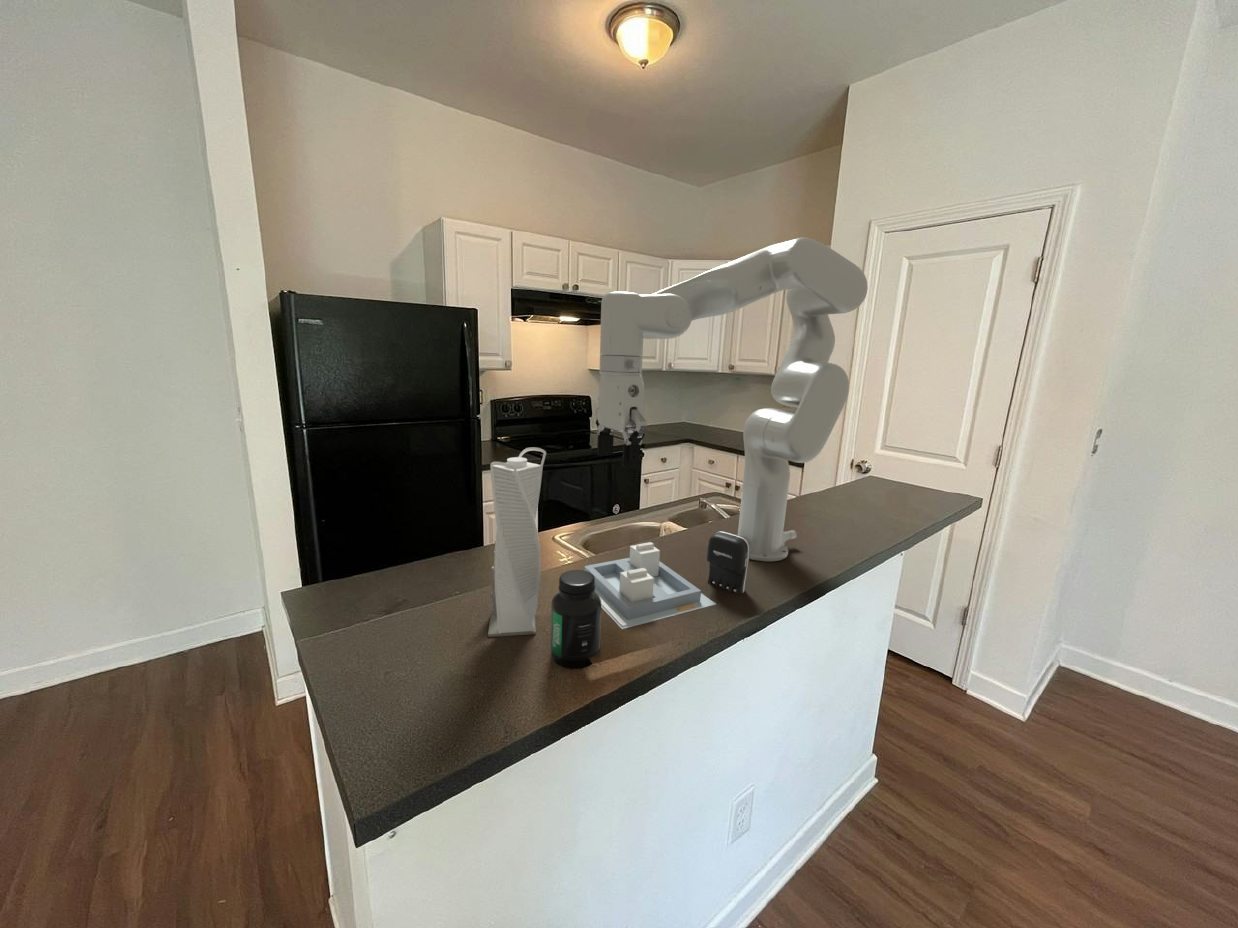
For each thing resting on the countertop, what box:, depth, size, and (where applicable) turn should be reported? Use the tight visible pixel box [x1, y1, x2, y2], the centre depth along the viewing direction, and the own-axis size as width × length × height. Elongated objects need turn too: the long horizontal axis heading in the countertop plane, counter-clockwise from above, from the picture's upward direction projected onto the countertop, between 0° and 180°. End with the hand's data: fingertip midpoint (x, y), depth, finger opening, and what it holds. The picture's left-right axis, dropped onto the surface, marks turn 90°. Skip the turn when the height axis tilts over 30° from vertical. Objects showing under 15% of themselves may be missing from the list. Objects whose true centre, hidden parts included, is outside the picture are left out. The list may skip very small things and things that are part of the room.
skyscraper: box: [487, 446, 547, 638], centre depth 72 cm, size 8×8×28 cm
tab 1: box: [629, 541, 661, 577], centre depth 90 cm, size 4×4×6 cm
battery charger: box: [706, 531, 750, 595], centre depth 86 cm, size 7×4×11 cm, turn 50°
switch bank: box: [583, 557, 717, 630], centre depth 85 cm, size 18×20×4 cm
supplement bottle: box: [550, 569, 602, 670], centre depth 67 cm, size 7×7×12 cm
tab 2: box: [619, 568, 654, 603], centre depth 79 cm, size 4×4×6 cm
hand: (617, 460), depth 90 cm, fingers open, 9 cm apart
